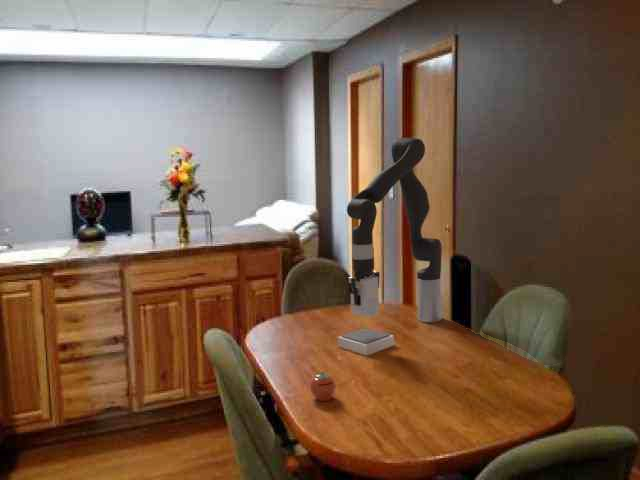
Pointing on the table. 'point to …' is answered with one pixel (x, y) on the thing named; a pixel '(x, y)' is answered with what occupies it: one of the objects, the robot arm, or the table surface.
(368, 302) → the small box
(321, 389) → the tomato
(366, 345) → the stack base
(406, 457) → the table surface
